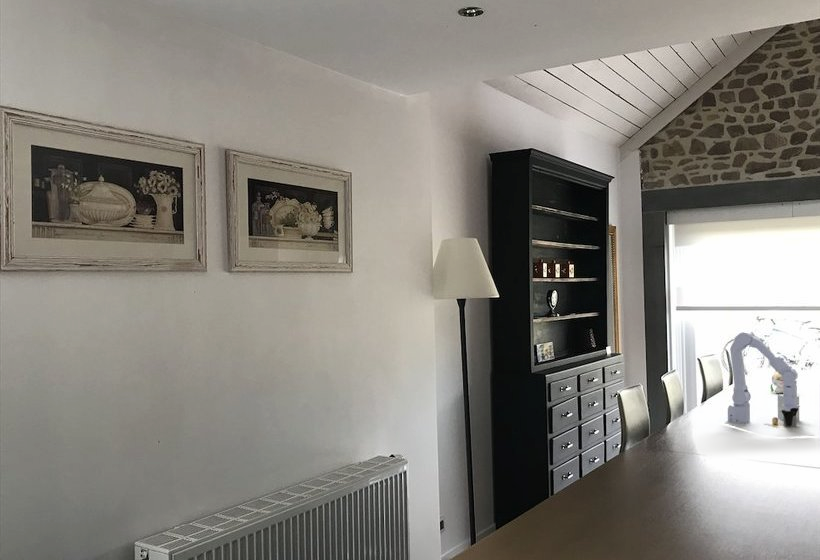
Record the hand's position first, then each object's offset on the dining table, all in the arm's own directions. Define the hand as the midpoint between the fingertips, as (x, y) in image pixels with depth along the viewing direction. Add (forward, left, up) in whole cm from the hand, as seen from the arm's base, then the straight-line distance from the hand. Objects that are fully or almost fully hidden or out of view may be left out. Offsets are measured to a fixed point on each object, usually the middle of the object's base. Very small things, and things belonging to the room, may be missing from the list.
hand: (790, 424), depth 353 cm
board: (-3, +2, -2) cm, 4 cm away
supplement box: (+10, +16, -2) cm, 19 cm away
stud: (-5, +5, -1) cm, 6 cm away
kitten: (+65, +98, -2) cm, 118 cm away
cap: (0, 0, -1) cm, 1 cm away
